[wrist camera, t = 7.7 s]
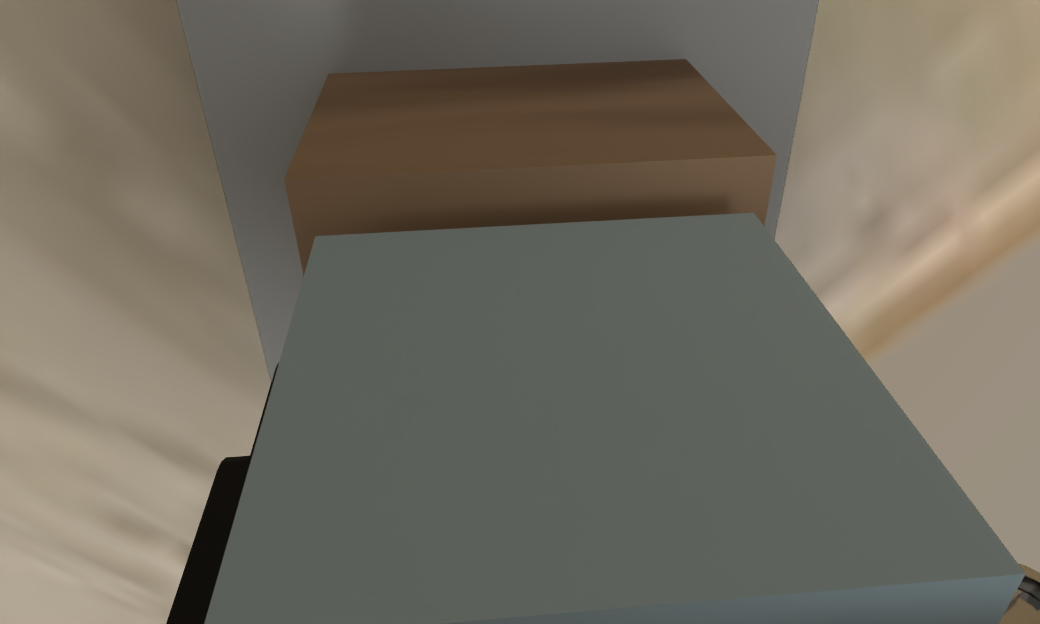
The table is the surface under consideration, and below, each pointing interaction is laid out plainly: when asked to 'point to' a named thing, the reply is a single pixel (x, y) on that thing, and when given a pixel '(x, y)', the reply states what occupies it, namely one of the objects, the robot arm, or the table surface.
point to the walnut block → (521, 149)
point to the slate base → (449, 45)
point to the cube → (590, 444)
